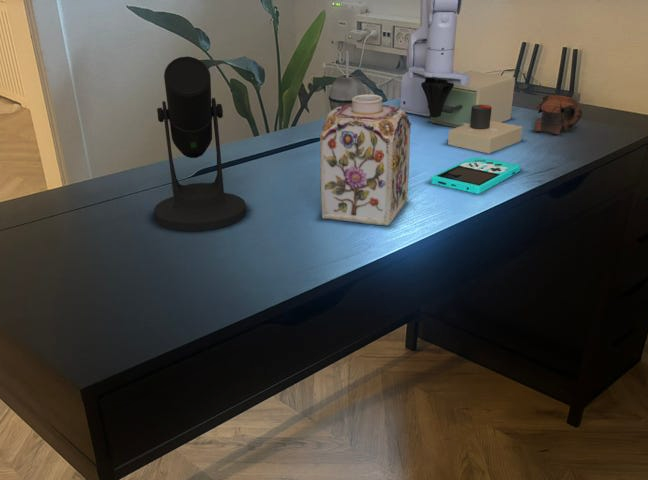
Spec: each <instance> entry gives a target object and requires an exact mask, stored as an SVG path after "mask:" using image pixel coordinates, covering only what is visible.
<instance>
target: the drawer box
mask: <svg viewBox="0 0 648 480" xmlns="http://www.w3.org/2000/svg"><path fill="white" fill-rule="evenodd" d="M463 73H464V74H469V75H470V84H469V85H465V86H462V85H460V84H454V86H453V88H459V89H466V90H472V91H477V97H476V105H488V106H491V107H492V109H491V119H490V121H495V122H501V123H504V122H506V121H509V120H511V118H512V110H513V100H514V93H515V83H516V77H514V76H509V75H500V74H494V73H486V72H480V71H473V70H468V71H465V72H463ZM442 79H444V78H442ZM430 120H431V119H430ZM430 122H431V123H432V124H433V123H434V124H438V125H443V126H447V127H453V128H457V127H460V125H455V124H450V123H445V122H440V121H435V120H431V121H430Z"/></svg>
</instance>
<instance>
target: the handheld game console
mask: <svg viewBox="0 0 648 480" xmlns="http://www.w3.org/2000/svg"><path fill="white" fill-rule="evenodd" d="M520 171H521V164H518V163H513V162H508V161H503V160H498V159H493V158H486V157H469V158H467V159H466V160H463V161H461V162H459V163H457V164H455V165H453V166H451V167H449V168H447V169H444V170H443V171H440V172H438V173H437V174H436V173H435V174H434V175H432V176H431V177H430V184H432V185H436V186H441V187H445V188H449V189H454V190H459V191H463V192H467V193H471V194H477V195H478V194H481V193H483V192H485V191H487V190H489V189H490V188H492V187H495V186H496V185H498V184H499V183H502V182H503V181H505V180H506V179H509V178H511V177H512V176H514V175H516V174H518V173H519V172H520Z"/></svg>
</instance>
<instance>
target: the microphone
mask: <svg viewBox="0 0 648 480" xmlns="http://www.w3.org/2000/svg"><path fill="white" fill-rule="evenodd" d="M211 78H212V77H211V72H210V69H209V67H208V66H207V64H205V63H204V62H203V61H202V60H200V59H198V58H197V57H192V56H180V57H176V58H174V59H172V61H170V62H169V63H168V64H167V66H165V70H164V73H163V79H164V80H163V81H164V87H165V88H164V89H165V95H166V101H165V100H163V101H162V103H161V104H162V107H157V108H156V112H157V121H158V122H159V123H164V129H165V130H164V131H165V137H166V146H167V153H168V164H169V170H170V171H169V172H170V180H171V186H172V187H171V188H172V195H173V196H170V197H167V198H165V199H164V200H161V201H160V202H158V203H157V204H156V205H155V207H154V210H153V211H154V212H153V213H154V218H155V222H156V223H157V224H158V225H160V226H161V227H164V228H166V229H170V230H175V231H180V232H182V231H183V232H202V231H203V232H205V231H210V230H217V229H222V228H225V227H229V226H231V225H234V224H236V223H239V222H240V221H241V220H242V219H244V218H245V216H246V214H247V204H246V201H245V199H243V198H242V197H240V196H239V195H236V194H233V193H228V192H225V189H224V178H223V168H222V167H223V166H222V156H221V142H220V133H219V119H222V118H223V117H224V111H223V105H222V104H221V103H217V101H216V97H212V83H211V82H212V79H211ZM213 132H214V139H215V140H214V141H215V149H216V150H215V152H216V175H215V176H216V177H215V179H214V181H213V182H197V183H189V184H188V183H187V184H181V183H180V182H179V180H178V178H177V174H176V170H175V164H174V161H173V151H172V143H173V144H174V146H175V147H176V148H177V149H178V151H179V153H181V154H182V155H183V156H184V157H187V158H188V159H189V158H190V159H197V158H200V157H201V156H203V155H204V154H205V153H206V151H207V149H208V148H209V147H210V145H211V143H212V140H213ZM171 140H172V143H171Z"/></svg>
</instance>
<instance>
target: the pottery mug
mask: <svg viewBox="0 0 648 480" xmlns="http://www.w3.org/2000/svg"><path fill="white" fill-rule="evenodd" d="M536 109H537V110H538V111H537V113H538V114H541V119H539V120H535V121H534V130H533V131H534V132H545V133H548V134H549V133H550V134H553V135H554V134H555V135H560V132H561V130H562V127H563V129H564V131H570V130H572V128H573V127H574V126H575V125H576V124H578V123H579V121H580V120H581V118H582V117H583V109H582V107H581V106H579V105H578V101H577V100H576V99H574V98H572V97H569V96H567V95H561V94H550V95H549V94H548V95H545V96H543V97H542V102H540V103H539V104H538V105H537V106H536Z"/></svg>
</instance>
